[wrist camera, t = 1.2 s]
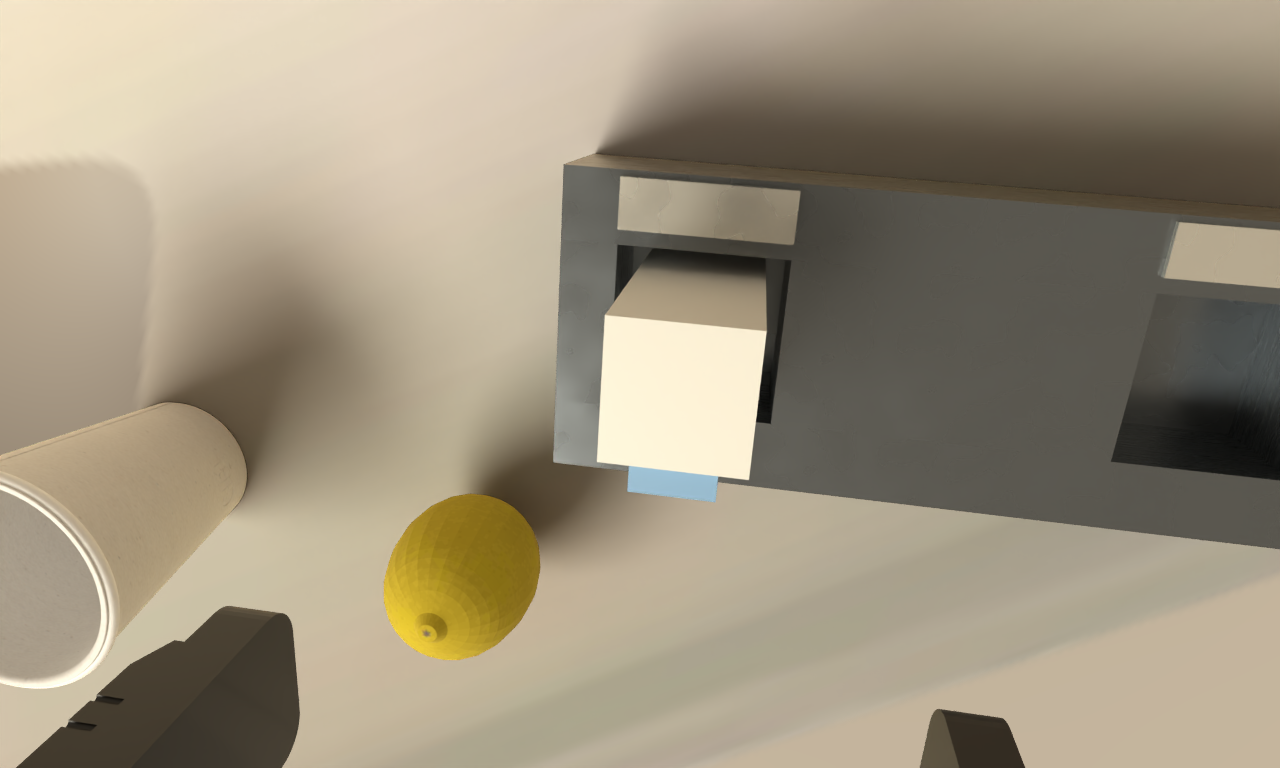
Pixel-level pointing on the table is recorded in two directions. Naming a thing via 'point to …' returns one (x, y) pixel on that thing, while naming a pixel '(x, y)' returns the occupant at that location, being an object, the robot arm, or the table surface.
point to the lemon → (461, 576)
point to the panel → (965, 340)
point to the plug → (684, 372)
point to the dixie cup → (103, 532)
